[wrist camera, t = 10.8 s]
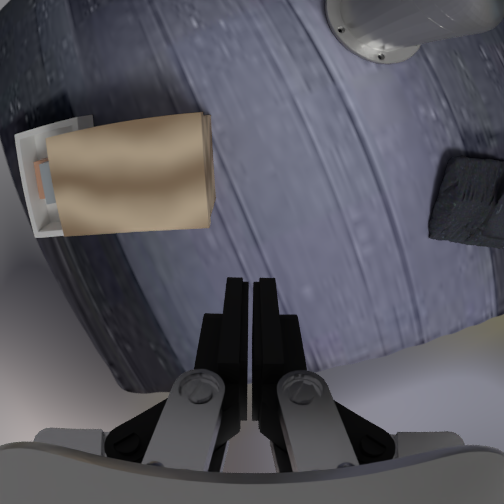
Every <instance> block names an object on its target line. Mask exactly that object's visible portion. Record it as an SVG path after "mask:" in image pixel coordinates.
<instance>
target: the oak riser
mask: <svg viewBox="0 0 504 504" xmlns="http://www.w3.org/2000/svg"><path fill="white" fill-rule="evenodd" d="M45 139H46V147H47V154H48V161H49V167H50V173H51V179H52V184H53V189H54V194H55V199H56V204H57V209H58V213H59V217H60V222H61V226H62V230H63V234H64V237H65V236H78V235H93V234H108V233H123V232H140V231H157V230H176V229H197V228H209V227H210V223H211V220H210V217H211V213H212V210H213V206H214V203H215V199H216V195H215V181H214V165H213V149H212V132H211V115H203V112H195V113H185V114H175V115H166V116H158V117H150V118H143V119H136V120H130V121H124V122H118V123H112V124H107V125H101V126H96V127H91V128H86V129H82V130H77V131H73V132H68V133H64V134H60V135H56V136H52V137H48V138H45Z"/></svg>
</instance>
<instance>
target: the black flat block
mask: <svg viewBox="0 0 504 504" xmlns="http://www.w3.org/2000/svg"><path fill="white" fill-rule="evenodd" d="M438 196H439V197H438V199H437V201H436V203H435V205H434V207H433V213H432V217H431V220H430V223H429V226H430V227H429V232H430V236H429V238H431V239H436V240H449V241H450V242H455V243H457V242H458V243H462V244H466V245H476V246H486V247H494V248H499V249H500V248H502V249H504V161H503V162H501V161H498V160H493V159H484V160H483V159H477V158H468V157H465V156H460V157H454V158H451V159H450V160H449V162H448V165H447V168H446V172H445V175H444V178H443V182H442V184H441V186H440V190H439V195H438Z"/></svg>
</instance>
